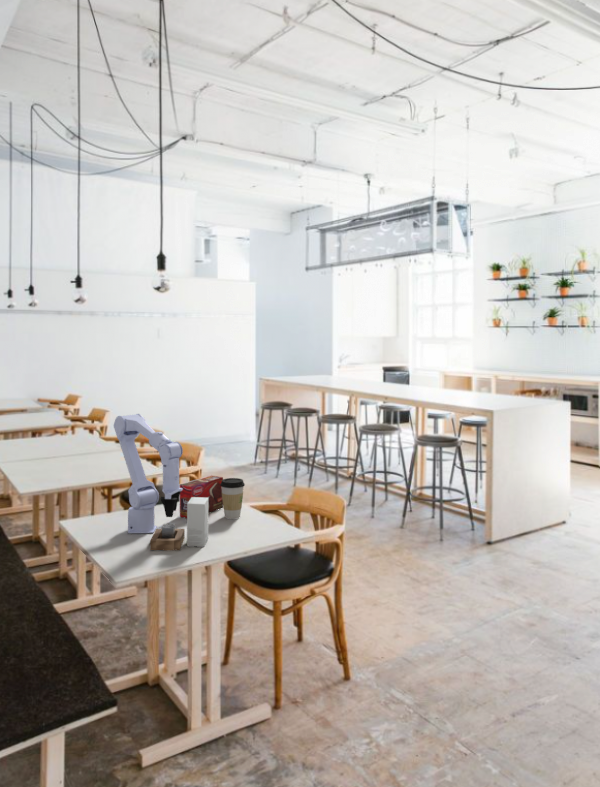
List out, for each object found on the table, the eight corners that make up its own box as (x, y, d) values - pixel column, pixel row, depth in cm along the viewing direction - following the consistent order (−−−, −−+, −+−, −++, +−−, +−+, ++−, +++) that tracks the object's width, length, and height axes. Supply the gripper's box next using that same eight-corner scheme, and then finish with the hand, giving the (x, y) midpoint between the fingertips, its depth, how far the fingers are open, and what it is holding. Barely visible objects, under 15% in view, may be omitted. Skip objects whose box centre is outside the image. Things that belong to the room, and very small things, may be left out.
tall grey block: (162, 545, 221) (161, 528, 220) (163, 541, 225) (163, 524, 224) (173, 544, 221) (173, 528, 221) (175, 541, 225) (175, 524, 225)
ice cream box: (211, 505, 274) (211, 475, 272) (222, 508, 270) (222, 477, 269) (179, 517, 257) (179, 484, 255) (191, 519, 253) (191, 486, 252)
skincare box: (191, 539, 229) (191, 496, 228) (209, 539, 229) (209, 497, 227) (186, 546, 221) (186, 502, 219) (205, 547, 220) (205, 503, 219)
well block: (150, 550, 216) (150, 540, 216) (156, 538, 229) (156, 528, 229) (179, 550, 217) (179, 540, 217) (184, 538, 230) (184, 528, 230)
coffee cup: (249, 516, 259) (249, 479, 257) (234, 521, 250) (234, 484, 249) (230, 512, 264) (230, 476, 263) (215, 517, 256) (215, 481, 254)
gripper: (179, 481, 220) (179, 519, 221) (185, 472, 234) (185, 508, 235) (158, 481, 219) (158, 519, 221) (165, 471, 234) (165, 508, 235)
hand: (171, 513), depth 228 cm, fingers open, 7 cm apart
